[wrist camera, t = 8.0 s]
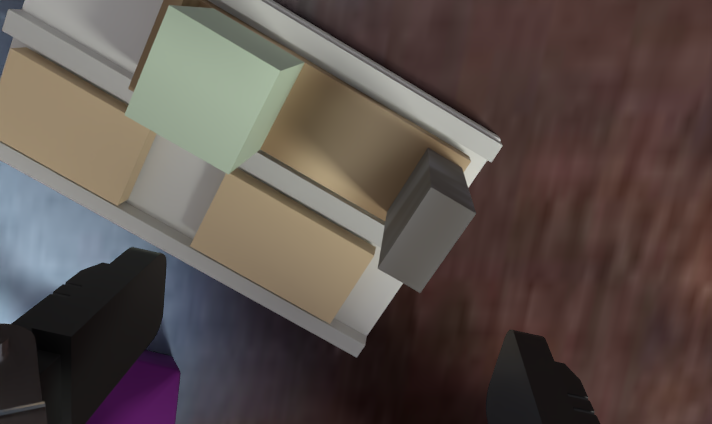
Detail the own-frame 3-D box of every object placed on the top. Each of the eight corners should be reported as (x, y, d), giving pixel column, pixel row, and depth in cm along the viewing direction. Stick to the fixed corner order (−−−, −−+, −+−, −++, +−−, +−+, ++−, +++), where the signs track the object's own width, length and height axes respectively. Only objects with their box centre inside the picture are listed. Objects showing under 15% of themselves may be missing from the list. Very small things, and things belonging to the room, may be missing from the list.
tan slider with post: (468, 155, 28) (487, 205, 21) (417, 232, 30) (417, 304, 22) (195, -8, 27) (107, -19, 19) (158, 82, 29) (63, 103, 21)
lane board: (498, 136, 29) (505, 146, 27) (359, 340, 34) (354, 363, 32) (75, -119, 27) (42, -132, 25) (-7, 137, 32) (-40, 145, 30)
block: (304, 62, 26) (280, 70, 22) (260, 149, 28) (228, 174, 23) (213, 8, 26) (169, 5, 21) (173, 99, 28) (124, 115, 23)
